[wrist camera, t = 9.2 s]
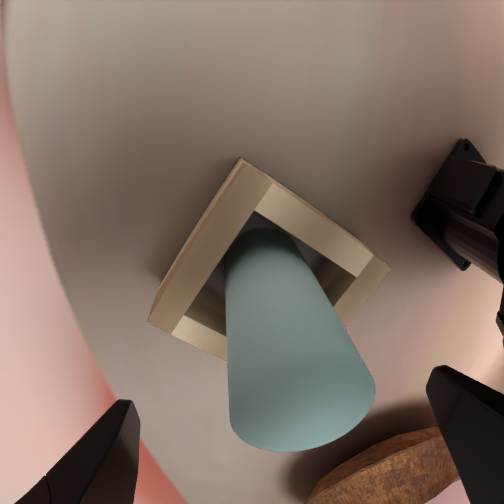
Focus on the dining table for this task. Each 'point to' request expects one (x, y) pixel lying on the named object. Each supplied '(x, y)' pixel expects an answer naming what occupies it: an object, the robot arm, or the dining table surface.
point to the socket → (239, 222)
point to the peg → (287, 350)
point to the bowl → (391, 472)
